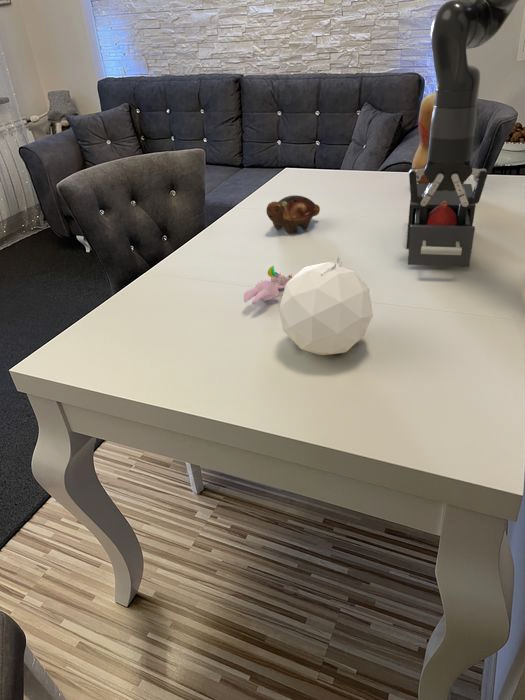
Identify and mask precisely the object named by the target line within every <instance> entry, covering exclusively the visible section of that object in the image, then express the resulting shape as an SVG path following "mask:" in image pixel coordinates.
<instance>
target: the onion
mask: <svg viewBox="0 0 525 700" xmlns="http://www.w3.org/2000/svg"><path fill="white" fill-rule="evenodd" d="M447 204H448V203H447V201H444V202H443V203H442V204H440V205H439V206H437V207H436V208H434V209H433V210H432V211H431V212H430V213H429V215H428V217H427V220H426V225H448V226H457V216H456V214H455V212H454V211H453V210H452V209H451V208H450V207H448V206H447Z"/></svg>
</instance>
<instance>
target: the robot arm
mask: <svg viewBox="0 0 525 700" xmlns="http://www.w3.org/2000/svg"><path fill="white" fill-rule="evenodd" d="M519 1H520V0H449V1H447V2H445V3H444V4H442V5H441V6H440V7H439V9H438V10H437V12H436V13H435V16H434V18H433V20H432V25H431V30H430V43H431V51H432V58H433V67H434V72H435V77H436V78H435V79H436V85H435V91H434V92H435V102H434V110H433V114H432V119H431V126H430V139H429V150H428V160H427V164H426V166H425V167H424V168H423V169H415V168H412V167H411V168H410V169H409V171H408V172H409V173H408V176H409V177H408V179H409V190H410V191H409V192H410V193H409V195H410V198H411V202H412V203H417V204H419V205H420V212H419V221H420V222H422V225H426V219H427V208H428V202H429V200H430V198H431V197H432V196H433V194H434V192H435V191H436V190H437V191H443V190H448V191H454V190H456V191H457V194H458V197H459V199H460V202H461V204H459V210H458V218H457V226H461V223H464V222H465V220H466V214H467V208H468V206H469V205H471V204H475V205H477V204H478V203H479V202H480V199H481V197H482V193H483V191H484V187H485V183H486V180H487V177H488V172H487V169H486V168H485V167H481V168H474V167H473V165H472V164H471V163H472V162H471V161H472V154H473V146H474V139H475V131H476V125H477V106H478V105H477V104H478V99H479V91H480V83H481V71H480V69H479V68H478V67H477V66H474V65H470V64H469V62H468V55H467V50H469V49H476V48H479V47H481V46H483V45H484V44H486V43H488V42H489V41H490V40H491V39H492V38H493V37H495V35H496V34H498V32H499V31H500V29H502V27H503V25H505V24H504V23H505V22H506V21H507V19H508V18H509V16H510V15H511V13H512V12H513V11H514V9H515V7H516V5H517V3H519ZM422 175H425V177H426V178H427V180H428V181H429V185H428V186H427V188H426V191H425V192H424V194H423V196H420V195H418V192H417V184H418V183H417V182H418V181H420V179H421V176H422ZM471 175H472V176H473V177H472V178H473V181H474V182H475V184H474V186H473V189H472V190H473V193H472V195H471V196H468V197H467V195H466V193H465V190H464V187H463V184H465V182H466V181H467V180H468V179H469V178H470V176H471Z"/></svg>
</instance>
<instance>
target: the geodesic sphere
mask: <svg viewBox="0 0 525 700" xmlns="http://www.w3.org/2000/svg"><path fill="white" fill-rule="evenodd" d="M342 262H343V261H340V257H339V256H338V257H337V258H336V263H335V262H332V261H327V262H322V263H317V264H312V265H306V266H304V267H303V268H302V269H300V270H299V271H298V272H297V273H296V274H295V275H294V276H292V279H290V280H289V281H288V282H287V283H286V286H285V288H283V293H282V297H281V300H280V304H279V306H278V309H279V310H278V311H279V315H280V316H279V317H280V323H281V328H282V331H283V332H284V334H286V335H287V336H288V337H289V339H290V340H292V341H293V343H294V344H295V345H296V346H297V347H298V348H299V349H300V350H302V351H306V352H309V353H311V354H316V355H318V356H328V355H337V354H344V353H347V352H348V351H349V350H350V349H351V348H353V346H354V345H356V344H357V343H358V342H359V341H360V340H361V339H362V338H363V337H364V336H365V335H366V332H367V330H368V327H369V325H370V323H371V321H372V319H373V317H374V312H373V307H372V300H371V291H370V288H369V287H368V285H367V284H366V283H365V282H364V281H363V280H362V279H361V277H360V276H359V275H358V274H357V273H356V271H355V270H352V269H349V268H347V267H345V266H342Z"/></svg>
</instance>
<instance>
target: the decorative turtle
mask: <svg viewBox="0 0 525 700" xmlns="http://www.w3.org/2000/svg"><path fill="white" fill-rule="evenodd" d="M320 211H321V208H320V206H319V205H318V203H317V204H316V203H315V202H314V201H313V200H311V199H310V198H308V197H306V196H302V195H297V194H295V195H294V194H293V195H288V196H285V197H283V198H281V199H280V200H279V201H271V202H269V203H268V204H267V206H266V211H265V212H266V216H267V217H268V219H269V220H270V221H271V222H272V225H273V227H274V228H275V229H276V230H281V229H282V228H283V229H284V230H285V232H286V233H287V234H289V235H292V234H294V233H295V231H296V230H297V229H298V227H299V228H301V229H302V230H308V227H309V226H310V223H311V221H312V219H313V218H314V217H316V216H318V215H319V213H320Z"/></svg>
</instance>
